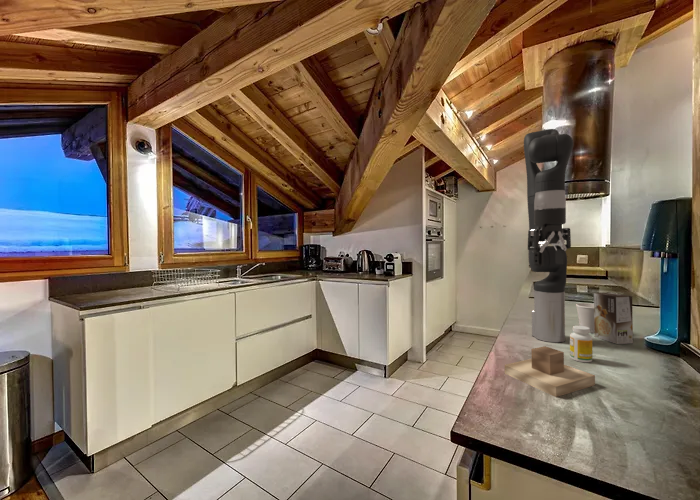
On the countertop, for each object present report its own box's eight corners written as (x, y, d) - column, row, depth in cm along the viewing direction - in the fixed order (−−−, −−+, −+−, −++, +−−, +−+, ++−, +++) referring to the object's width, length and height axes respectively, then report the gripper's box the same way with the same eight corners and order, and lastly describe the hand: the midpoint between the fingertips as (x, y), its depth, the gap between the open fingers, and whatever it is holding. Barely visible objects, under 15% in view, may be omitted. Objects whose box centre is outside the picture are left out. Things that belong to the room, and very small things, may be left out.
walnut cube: (531, 367, 81) (531, 348, 81) (545, 364, 83) (544, 346, 83) (550, 375, 76) (549, 355, 76) (563, 371, 78) (563, 352, 78)
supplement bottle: (566, 358, 93) (565, 326, 93) (576, 354, 95) (576, 323, 95) (586, 364, 88) (585, 330, 88) (596, 360, 91) (596, 328, 90)
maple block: (504, 375, 84) (504, 364, 83) (541, 366, 89) (540, 356, 89) (555, 399, 71) (555, 386, 70) (595, 387, 76) (594, 375, 76)
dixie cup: (609, 334, 115) (609, 307, 115) (586, 334, 115) (586, 307, 115) (592, 327, 123) (591, 302, 123) (570, 328, 124) (570, 303, 123)
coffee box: (634, 343, 104) (634, 296, 104) (616, 344, 104) (616, 296, 103) (609, 335, 113) (609, 291, 113) (593, 336, 113) (592, 292, 112)
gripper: (554, 209, 94) (554, 262, 94) (519, 209, 89) (519, 265, 89) (580, 206, 87) (580, 264, 87) (544, 206, 82) (544, 267, 82)
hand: (549, 265), depth 88 cm, fingers open, 8 cm apart
